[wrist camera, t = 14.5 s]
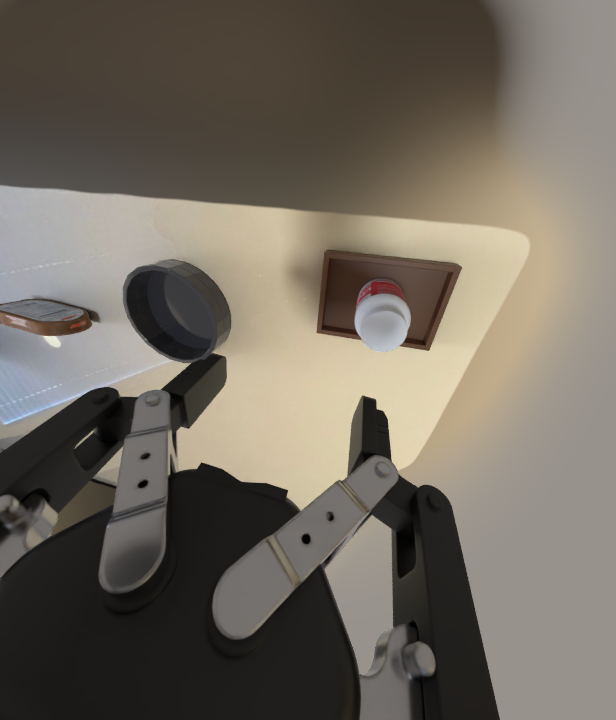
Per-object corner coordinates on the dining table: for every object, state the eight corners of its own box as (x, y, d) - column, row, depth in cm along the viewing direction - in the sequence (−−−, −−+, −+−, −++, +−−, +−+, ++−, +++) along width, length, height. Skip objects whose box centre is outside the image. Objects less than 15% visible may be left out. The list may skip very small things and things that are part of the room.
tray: (456, 263, 30) (462, 266, 28) (425, 343, 36) (429, 350, 34) (327, 249, 32) (324, 252, 30) (319, 327, 38) (316, 333, 36)
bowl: (147, 240, 37) (122, 243, 33) (242, 293, 38) (228, 301, 34) (142, 324, 46) (122, 334, 42) (218, 364, 47) (205, 377, 43)
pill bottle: (365, 272, 32) (363, 295, 23) (410, 283, 32) (427, 312, 22) (352, 314, 35) (345, 349, 26) (392, 325, 35) (400, 365, 26)
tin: (40, 307, 50) (-14, 323, 43) (33, 293, 48) (-25, 306, 41) (103, 324, 48) (58, 343, 41) (98, 309, 46) (50, 326, 39)
